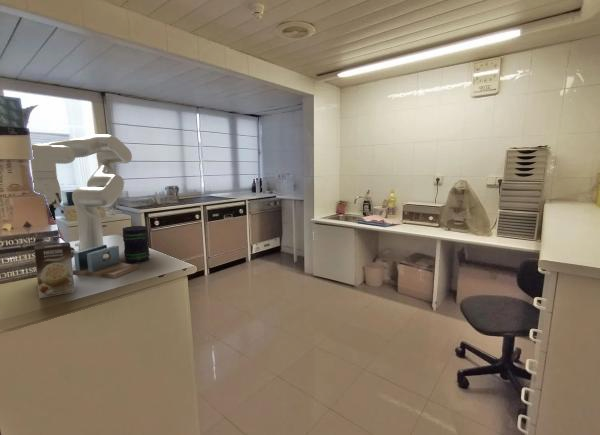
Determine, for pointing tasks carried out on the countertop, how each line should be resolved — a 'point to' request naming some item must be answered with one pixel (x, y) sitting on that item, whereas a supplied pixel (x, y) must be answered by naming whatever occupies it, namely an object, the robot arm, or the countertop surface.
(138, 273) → the countertop surface
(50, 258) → the coffee box
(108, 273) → the base plate
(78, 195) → the robot arm
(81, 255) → the bearing blocks
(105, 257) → the shaft
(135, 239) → the storage jar
